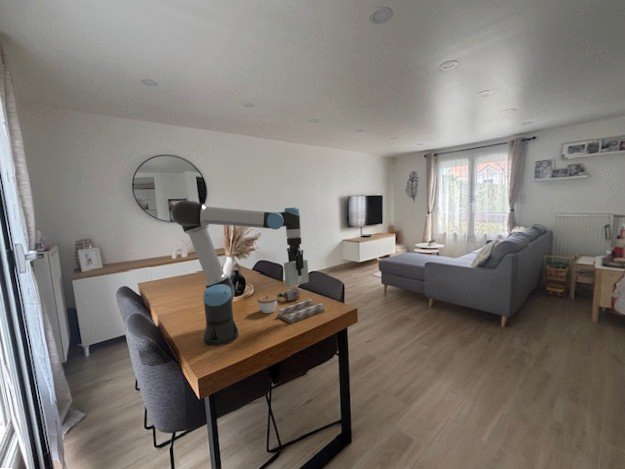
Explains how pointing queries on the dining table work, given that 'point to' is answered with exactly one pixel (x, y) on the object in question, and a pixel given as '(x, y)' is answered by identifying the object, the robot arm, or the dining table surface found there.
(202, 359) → the dining table surface
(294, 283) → the pale green square block
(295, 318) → the grey bumpy tray
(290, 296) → the decorative duck model
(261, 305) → the lidded jar
